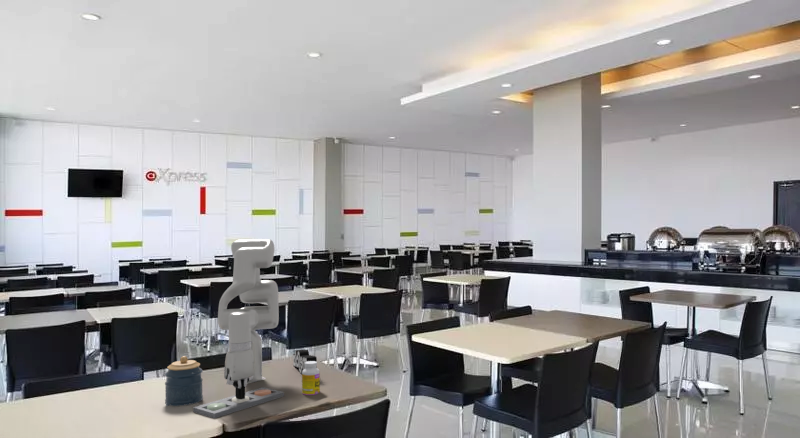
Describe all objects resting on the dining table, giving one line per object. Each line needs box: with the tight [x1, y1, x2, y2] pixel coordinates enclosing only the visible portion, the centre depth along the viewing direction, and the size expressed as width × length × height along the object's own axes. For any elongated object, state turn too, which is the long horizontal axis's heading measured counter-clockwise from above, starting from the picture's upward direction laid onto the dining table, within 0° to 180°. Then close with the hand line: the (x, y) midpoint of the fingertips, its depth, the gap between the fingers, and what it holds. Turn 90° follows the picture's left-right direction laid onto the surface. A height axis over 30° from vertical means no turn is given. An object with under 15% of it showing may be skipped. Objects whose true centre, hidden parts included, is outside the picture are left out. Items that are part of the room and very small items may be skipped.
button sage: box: [207, 403, 226, 411], centre depth 192 cm, size 6×6×3 cm
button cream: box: [232, 396, 249, 403], centre depth 200 cm, size 6×6×3 cm
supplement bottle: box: [301, 361, 321, 396], centre depth 213 cm, size 7×7×13 cm
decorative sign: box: [292, 349, 318, 375], centre depth 250 cm, size 32×4×10 cm, turn 21°
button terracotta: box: [254, 389, 271, 397], centre depth 208 cm, size 6×6×3 cm
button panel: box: [192, 387, 285, 419], centre depth 200 cm, size 30×12×3 cm, turn 143°
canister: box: [164, 355, 204, 407], centre depth 206 cm, size 13×13×18 cm
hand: (240, 398), depth 200 cm, fingers closed
